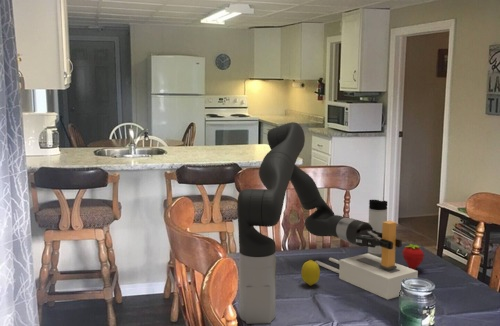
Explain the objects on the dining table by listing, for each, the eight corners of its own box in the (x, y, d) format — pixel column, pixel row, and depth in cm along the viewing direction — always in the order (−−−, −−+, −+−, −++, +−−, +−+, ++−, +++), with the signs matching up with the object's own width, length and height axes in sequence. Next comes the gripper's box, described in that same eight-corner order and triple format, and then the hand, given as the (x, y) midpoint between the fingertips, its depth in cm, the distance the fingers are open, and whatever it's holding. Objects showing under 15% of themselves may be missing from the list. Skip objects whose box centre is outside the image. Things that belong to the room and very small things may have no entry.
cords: (359, 271, 171) (359, 268, 171) (342, 276, 167) (342, 272, 167) (330, 260, 183) (330, 256, 183) (314, 263, 179) (314, 260, 179)
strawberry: (412, 275, 168) (413, 244, 167) (397, 267, 175) (398, 238, 174) (427, 272, 170) (429, 242, 169) (412, 265, 177) (413, 236, 176)
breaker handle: (396, 268, 155) (398, 222, 153) (388, 270, 153) (390, 224, 151) (387, 264, 158) (388, 220, 156) (379, 266, 156) (380, 221, 154)
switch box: (417, 290, 155) (417, 270, 154) (387, 299, 148) (388, 278, 148) (367, 271, 172) (367, 252, 171) (339, 278, 165) (339, 259, 164)
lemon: (304, 281, 163) (305, 255, 162) (322, 284, 160) (322, 258, 159) (298, 287, 158) (298, 261, 157) (316, 290, 156) (316, 263, 154)
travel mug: (364, 255, 188) (366, 199, 185) (371, 250, 193) (373, 196, 191) (381, 258, 185) (383, 201, 182) (388, 253, 190) (390, 198, 187)
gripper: (337, 222, 162) (379, 235, 148) (370, 216, 170) (413, 228, 155) (336, 246, 163) (378, 261, 149) (370, 239, 171) (412, 253, 156)
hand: (396, 244), depth 152 cm, fingers closed on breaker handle, 3 cm apart
